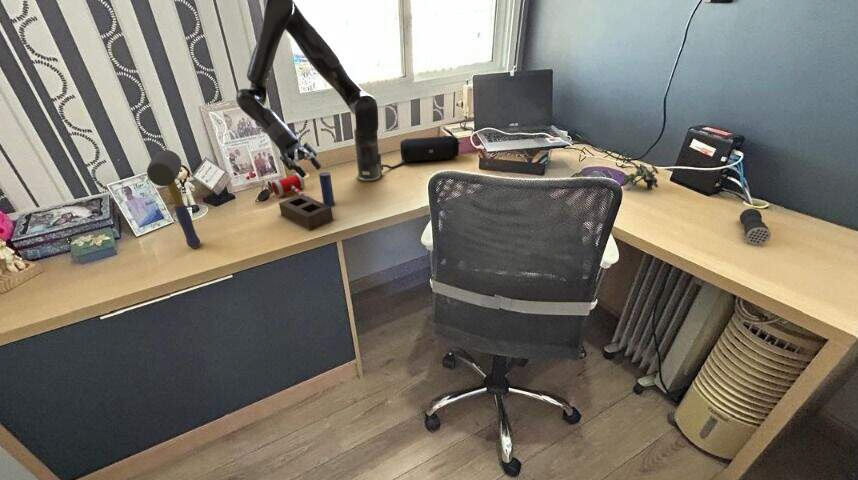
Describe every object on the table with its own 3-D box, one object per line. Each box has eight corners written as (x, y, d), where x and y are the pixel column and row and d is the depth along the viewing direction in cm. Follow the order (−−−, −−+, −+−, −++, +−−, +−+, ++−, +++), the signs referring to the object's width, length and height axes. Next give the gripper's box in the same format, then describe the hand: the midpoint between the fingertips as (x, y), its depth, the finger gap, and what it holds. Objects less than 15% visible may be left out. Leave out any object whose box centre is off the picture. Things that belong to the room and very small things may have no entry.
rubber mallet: (204, 254, 130) (169, 160, 113) (179, 258, 129) (140, 163, 111) (209, 235, 140) (178, 146, 122) (186, 239, 139) (150, 149, 121)
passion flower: (643, 202, 160) (668, 184, 149) (619, 200, 157) (643, 182, 146) (635, 177, 164) (660, 158, 153) (612, 175, 161) (635, 155, 150)
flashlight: (735, 220, 135) (743, 205, 131) (755, 223, 133) (763, 208, 129) (743, 242, 124) (751, 226, 120) (765, 246, 122) (774, 230, 118)
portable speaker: (402, 165, 187) (402, 143, 181) (400, 158, 194) (399, 136, 189) (458, 161, 188) (459, 139, 182) (454, 154, 196) (455, 132, 190)
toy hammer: (330, 201, 159) (327, 185, 155) (303, 211, 152) (300, 195, 149) (297, 185, 172) (295, 170, 169) (272, 194, 166) (269, 179, 162)
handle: (330, 201, 159) (325, 171, 152) (336, 204, 156) (332, 173, 149) (321, 205, 156) (316, 174, 149) (328, 207, 154) (323, 176, 147)
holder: (304, 206, 156) (301, 193, 153) (333, 220, 146) (331, 207, 143) (281, 215, 150) (278, 202, 147) (310, 230, 140) (307, 217, 137)
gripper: (272, 135, 142) (304, 172, 144) (299, 124, 152) (328, 159, 154) (264, 149, 147) (295, 184, 149) (291, 137, 157) (319, 171, 159)
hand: (312, 172), depth 152 cm, fingers open, 8 cm apart
